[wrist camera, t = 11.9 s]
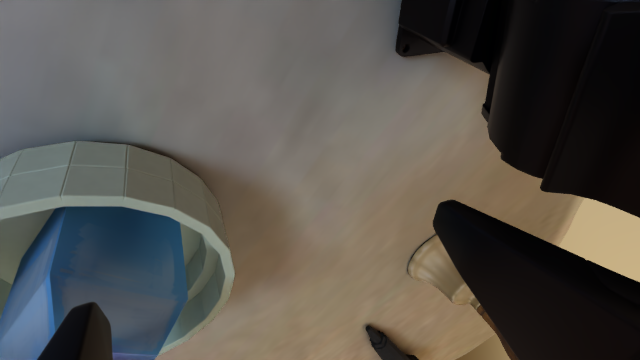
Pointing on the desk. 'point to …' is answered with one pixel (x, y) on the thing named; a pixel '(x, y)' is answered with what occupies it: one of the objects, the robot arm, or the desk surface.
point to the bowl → (118, 190)
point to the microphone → (386, 346)
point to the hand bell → (447, 280)
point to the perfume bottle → (98, 280)
